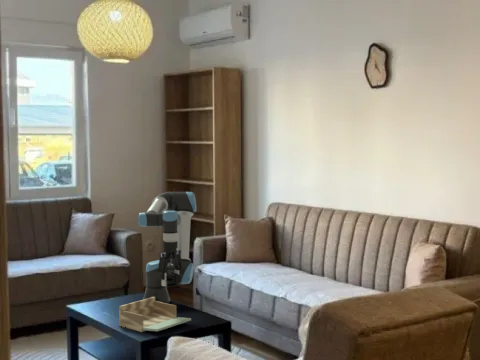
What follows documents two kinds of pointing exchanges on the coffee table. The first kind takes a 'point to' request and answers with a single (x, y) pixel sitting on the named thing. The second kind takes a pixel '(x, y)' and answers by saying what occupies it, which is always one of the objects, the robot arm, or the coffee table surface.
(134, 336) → the coffee table surface
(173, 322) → the panel
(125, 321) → the wooden tray box
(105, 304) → the coffee table surface
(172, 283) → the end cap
